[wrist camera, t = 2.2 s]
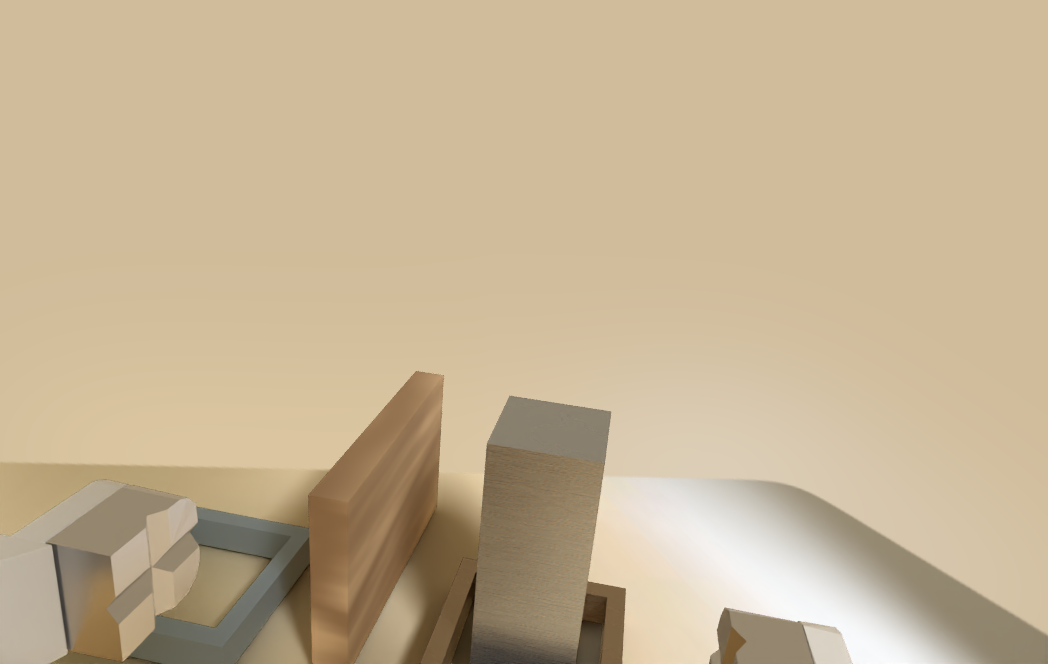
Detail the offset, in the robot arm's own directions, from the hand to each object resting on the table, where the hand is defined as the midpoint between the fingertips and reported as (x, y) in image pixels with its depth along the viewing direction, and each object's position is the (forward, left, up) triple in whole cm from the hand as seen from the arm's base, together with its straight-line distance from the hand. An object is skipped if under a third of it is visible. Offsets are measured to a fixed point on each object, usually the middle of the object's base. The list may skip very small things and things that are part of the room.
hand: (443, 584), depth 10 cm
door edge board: (+7, -17, -15) cm, 24 cm away
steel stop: (0, -14, -15) cm, 21 cm away
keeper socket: (+15, -14, -15) cm, 25 cm away
